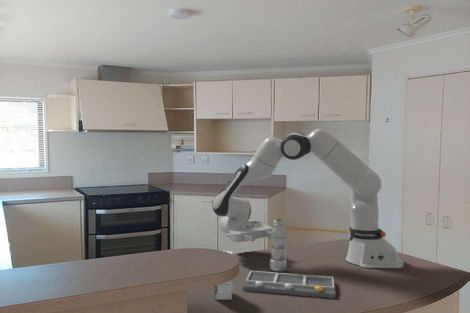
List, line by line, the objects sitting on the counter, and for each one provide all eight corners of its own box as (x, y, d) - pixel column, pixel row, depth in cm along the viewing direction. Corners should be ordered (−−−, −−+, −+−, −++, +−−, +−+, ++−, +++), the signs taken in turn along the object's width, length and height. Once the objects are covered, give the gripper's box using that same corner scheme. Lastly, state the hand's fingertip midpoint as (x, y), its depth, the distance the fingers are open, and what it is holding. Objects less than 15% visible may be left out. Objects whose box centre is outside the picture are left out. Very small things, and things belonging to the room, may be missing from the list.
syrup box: (215, 292, 132) (215, 250, 131) (233, 293, 131) (233, 250, 131) (214, 299, 126) (214, 255, 125) (232, 300, 126) (232, 255, 125)
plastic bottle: (268, 268, 156) (268, 218, 155) (284, 267, 156) (285, 218, 155) (271, 274, 149) (271, 222, 148) (288, 273, 150) (289, 221, 149)
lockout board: (333, 282, 141) (333, 275, 141) (335, 298, 127) (335, 290, 127) (250, 276, 147) (250, 269, 147) (243, 290, 133) (243, 282, 133)
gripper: (223, 226, 167) (241, 233, 155) (261, 220, 178) (281, 226, 166) (223, 241, 167) (241, 249, 156) (261, 234, 178) (281, 241, 167)
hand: (262, 237), depth 161 cm, fingers open, 8 cm apart
